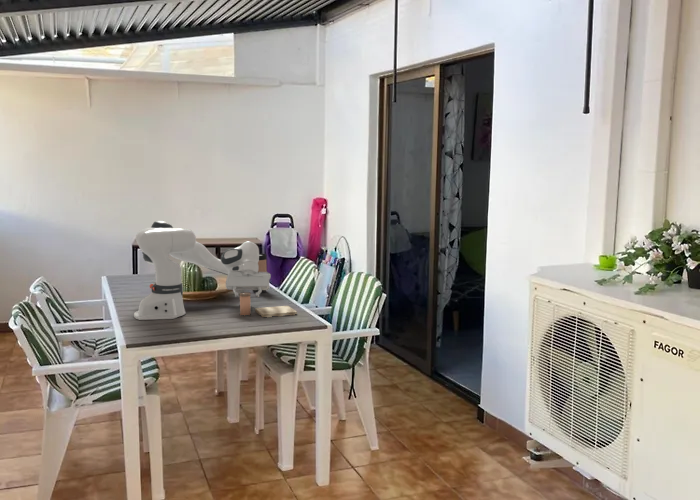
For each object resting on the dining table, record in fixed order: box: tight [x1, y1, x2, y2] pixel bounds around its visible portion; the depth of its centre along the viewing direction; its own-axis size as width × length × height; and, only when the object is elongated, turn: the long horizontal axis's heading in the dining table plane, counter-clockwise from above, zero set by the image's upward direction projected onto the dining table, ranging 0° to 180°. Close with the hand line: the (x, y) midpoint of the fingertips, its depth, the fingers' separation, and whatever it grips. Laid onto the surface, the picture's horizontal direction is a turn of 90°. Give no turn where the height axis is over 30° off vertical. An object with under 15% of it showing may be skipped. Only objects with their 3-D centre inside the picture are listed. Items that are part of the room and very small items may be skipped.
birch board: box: [255, 305, 298, 318], centre depth 302 cm, size 16×13×2 cm
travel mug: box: [252, 253, 268, 294], centre depth 347 cm, size 8×8×20 cm
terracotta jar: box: [239, 291, 252, 317], centre depth 297 cm, size 5×5×10 cm
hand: (246, 296), depth 301 cm, fingers open, 8 cm apart
